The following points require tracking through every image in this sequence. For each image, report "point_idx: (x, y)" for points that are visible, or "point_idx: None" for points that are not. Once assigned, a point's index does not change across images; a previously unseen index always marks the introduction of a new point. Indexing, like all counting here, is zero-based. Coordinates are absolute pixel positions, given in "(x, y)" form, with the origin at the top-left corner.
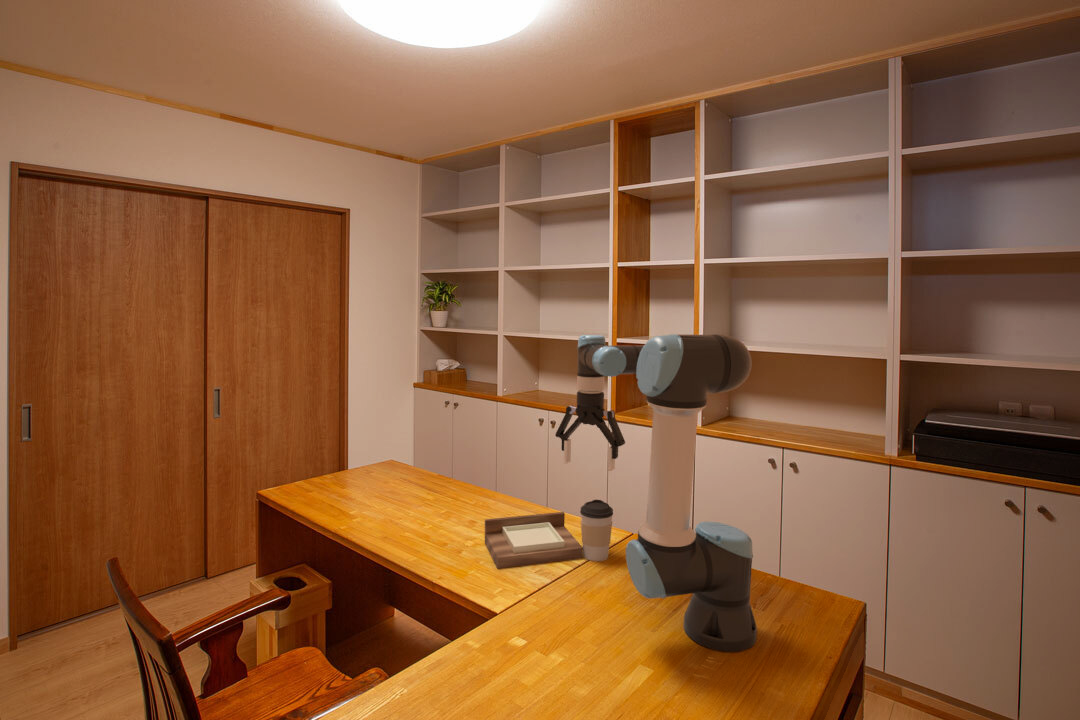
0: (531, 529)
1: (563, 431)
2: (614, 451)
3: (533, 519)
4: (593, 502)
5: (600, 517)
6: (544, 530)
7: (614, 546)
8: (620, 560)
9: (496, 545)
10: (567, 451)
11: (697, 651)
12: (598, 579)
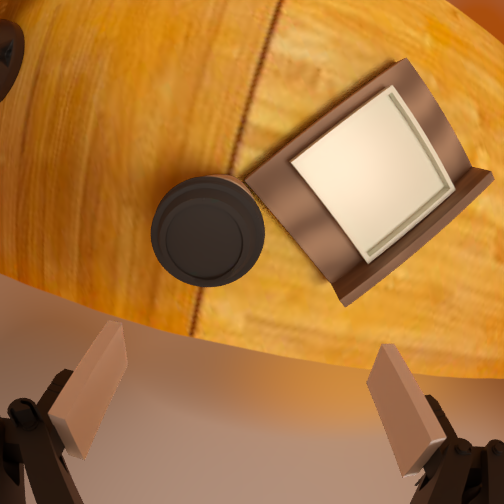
0: (397, 222)
1: (463, 495)
2: (50, 401)
3: (405, 243)
4: (228, 270)
5: (175, 188)
6: (367, 229)
7: None
8: None
9: (434, 115)
10: (399, 398)
11: (13, 9)
12: (176, 96)
